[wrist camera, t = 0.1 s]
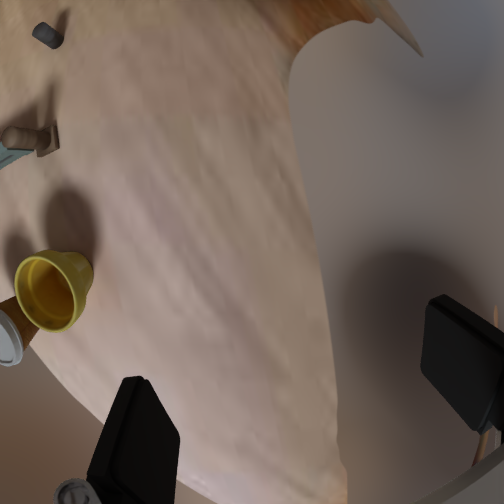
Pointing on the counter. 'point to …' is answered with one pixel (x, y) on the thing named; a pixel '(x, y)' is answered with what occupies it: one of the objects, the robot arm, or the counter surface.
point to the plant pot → (53, 288)
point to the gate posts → (31, 138)
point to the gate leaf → (11, 154)
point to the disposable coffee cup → (14, 332)
